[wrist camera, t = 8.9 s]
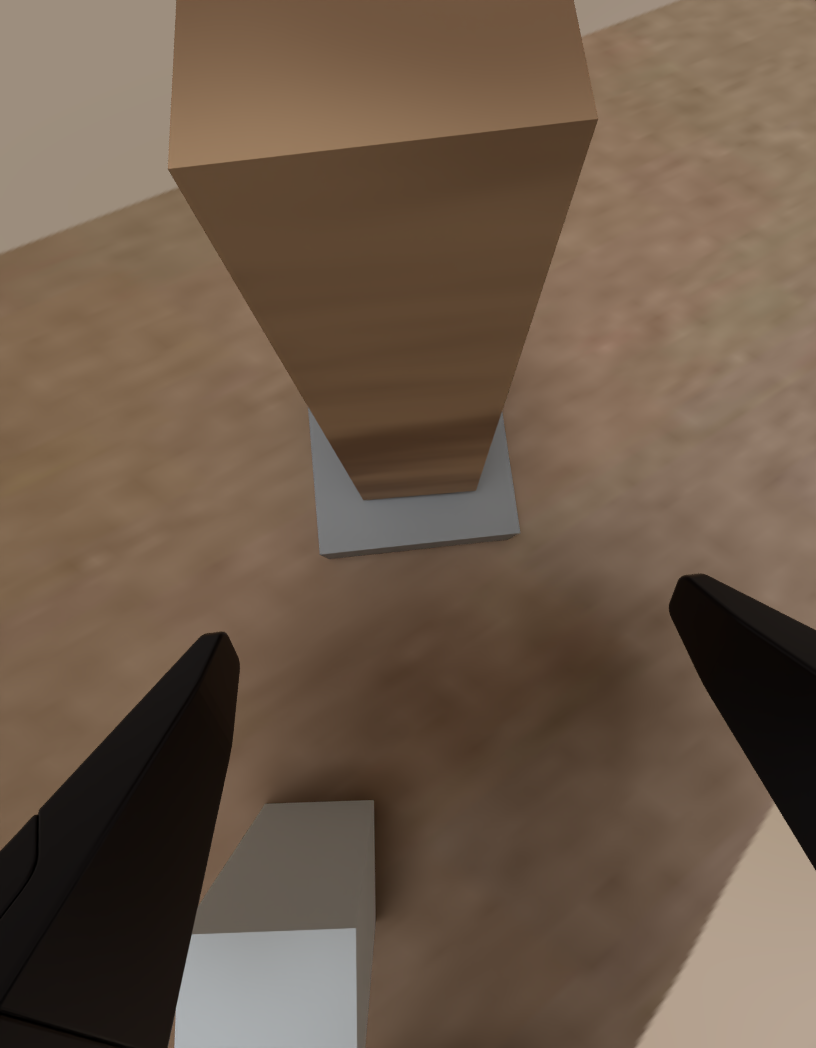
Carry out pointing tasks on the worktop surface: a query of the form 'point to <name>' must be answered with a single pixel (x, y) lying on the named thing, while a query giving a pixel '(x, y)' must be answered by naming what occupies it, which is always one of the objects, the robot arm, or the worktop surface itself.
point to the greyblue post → (286, 935)
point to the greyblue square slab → (410, 508)
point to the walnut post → (386, 204)
